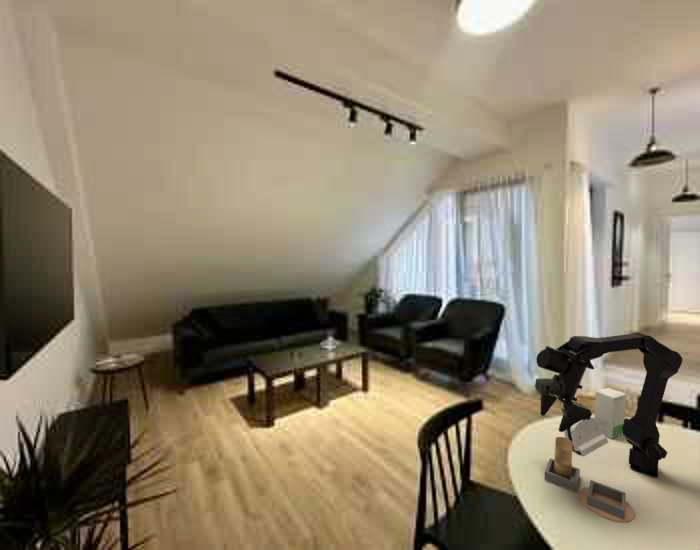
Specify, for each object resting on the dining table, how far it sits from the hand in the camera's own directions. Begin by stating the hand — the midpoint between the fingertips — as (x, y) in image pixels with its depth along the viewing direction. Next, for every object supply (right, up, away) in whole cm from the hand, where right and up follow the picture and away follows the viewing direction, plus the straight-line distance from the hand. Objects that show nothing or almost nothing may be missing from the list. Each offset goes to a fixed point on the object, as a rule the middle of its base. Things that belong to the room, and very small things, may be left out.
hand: (550, 423), depth 104 cm
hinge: (+21, -14, +16) cm, 30 cm away
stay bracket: (+8, -17, -11) cm, 22 cm away
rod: (+3, -16, -1) cm, 17 cm away
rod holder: (+3, -16, -1) cm, 17 cm away
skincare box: (+35, -13, +22) cm, 44 cm away
